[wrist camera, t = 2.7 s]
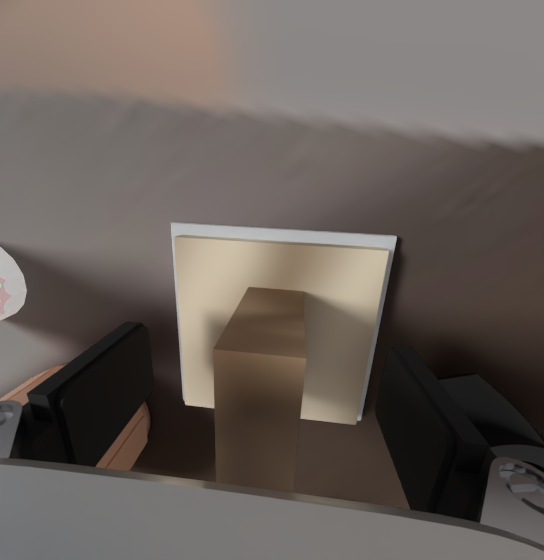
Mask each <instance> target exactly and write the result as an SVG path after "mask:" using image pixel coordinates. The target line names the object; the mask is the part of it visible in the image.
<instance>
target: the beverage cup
mask: <svg viewBox="0 0 544 560" xmlns="http://www.w3.org/2000/svg"><path fill="white" fill-rule="evenodd" d="M26 292H27V289H26V285H25V280H24V276H23V274H22V272H21V270H20V269H19V267H18V265H17V264H16V262H15V261H14V259H13V258H12V257H11V256H10V255H9V254H7V253H6V252H5V251H4V250H3V249H2V248H1V247H0V320H2V319H5V318H7V317H9V316H11V315H13V314H15V313H17V312H18V311H19V309H20V308H21V307H22V306H23V305H24V303H25V298H26Z"/></svg>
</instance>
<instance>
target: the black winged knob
mask: <svg viewBox="0 0 544 560" xmlns="http://www.w3.org/2000/svg"><path fill="white" fill-rule="evenodd" d="M438 380H439V382H440V383H441V384H442V386H443V387H444V388H445V389H446V391H447V392H448V393H449V394H450V396H451V397H452V398H453V399H454V401H455V402H456V403H457V405H458V406H459V407H460V408H461V410H462V411H463V412H464V413H465V415H466V416H467V417H468V418H469V420H470V421H471V422H472V423H473V425H474V426H475V427H476V429H477V430H478V431H479V432H480V434H481V435H482V436H483V437H484V439H485V440H486V441H487V442H488V444H489V445H490V447H489V448H490V449H491V450H492V452H493V453H494V454H495V455H496V457H497V458H499V457H509V458H513V459H517V460H520V461H522V462H525V463H527V464H529V465H531V466H533V467H535V468H536V469H538V470H540V471H541V472H543V473H544V437H543V436H542V435H541V434H540V433H539V432H538V431H537V430H536V429H535V428H534V427H533V426H532V425H531V424H530V423H529V422H527V421H526V420H525V419H524V418H523V417H522V415H521V414H520V413H519V412H518V411H517V410H516V409H515V408H514V407H513V406H512V405H511V404H510V403H509V402H508V401H507V400H505V399H504V398H503V397H502V396H501V395H500V394H499V393H498V392H497V391H496V390H495V389H493V388H492V387H491V386H490V385H489V384H488V383H487V382H485V381H484V380H483V379H482V378H481V377H480V376H479V375H478V374H476V373H471V374H462V375H454V376H448V377H443V378H439V379H438Z"/></svg>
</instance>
